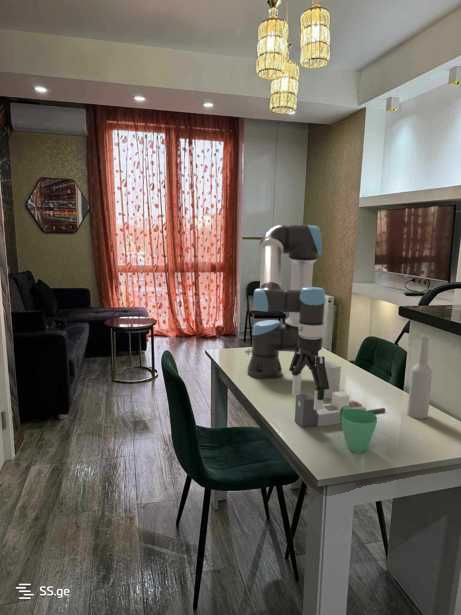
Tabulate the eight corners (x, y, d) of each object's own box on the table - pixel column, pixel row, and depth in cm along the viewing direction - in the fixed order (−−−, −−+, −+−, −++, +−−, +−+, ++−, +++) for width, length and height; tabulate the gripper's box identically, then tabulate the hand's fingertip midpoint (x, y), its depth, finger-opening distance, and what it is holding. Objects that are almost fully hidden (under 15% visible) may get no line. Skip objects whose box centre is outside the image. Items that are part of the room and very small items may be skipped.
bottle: (407, 409, 151) (415, 332, 146) (428, 413, 148) (436, 335, 143) (406, 416, 145) (414, 336, 140) (427, 420, 142) (436, 339, 137)
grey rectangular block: (294, 420, 139) (295, 394, 138) (316, 417, 142) (317, 392, 140) (302, 427, 134) (303, 400, 133) (324, 423, 137) (326, 397, 136)
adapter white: (331, 405, 143) (332, 392, 142) (341, 403, 144) (342, 391, 143) (338, 409, 139) (339, 396, 138) (348, 408, 140) (349, 395, 140)
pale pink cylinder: (339, 399, 159) (341, 368, 157) (317, 397, 161) (319, 366, 159) (338, 391, 167) (340, 362, 165) (317, 389, 169) (319, 360, 167)
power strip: (307, 417, 142) (308, 404, 141) (378, 407, 152) (379, 395, 151) (318, 426, 136) (319, 413, 135) (391, 415, 146) (393, 402, 145)
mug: (381, 455, 118) (384, 422, 117) (348, 458, 116) (351, 424, 115) (355, 431, 133) (358, 401, 131) (326, 433, 131) (328, 403, 129)
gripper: (281, 329, 143) (278, 389, 146) (321, 346, 120) (317, 417, 123) (300, 328, 146) (297, 387, 149) (344, 345, 123) (339, 414, 126)
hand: (306, 401), depth 136 cm, fingers open, 13 cm apart
